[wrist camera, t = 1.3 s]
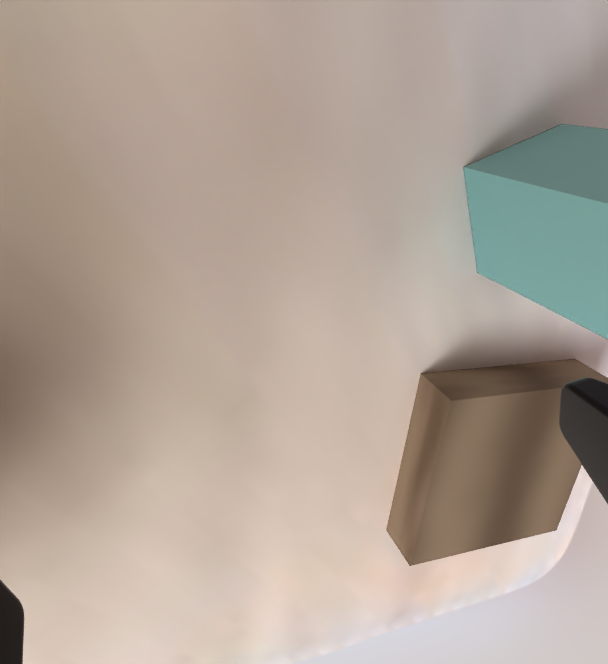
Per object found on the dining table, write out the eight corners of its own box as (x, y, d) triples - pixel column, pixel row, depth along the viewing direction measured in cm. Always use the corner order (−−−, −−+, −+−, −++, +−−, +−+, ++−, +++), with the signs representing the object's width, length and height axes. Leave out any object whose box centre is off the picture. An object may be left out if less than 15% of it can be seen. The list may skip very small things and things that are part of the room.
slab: (382, 524, 30) (409, 565, 28) (416, 369, 26) (451, 400, 24) (520, 495, 34) (556, 530, 31) (568, 355, 30) (613, 381, 27)
